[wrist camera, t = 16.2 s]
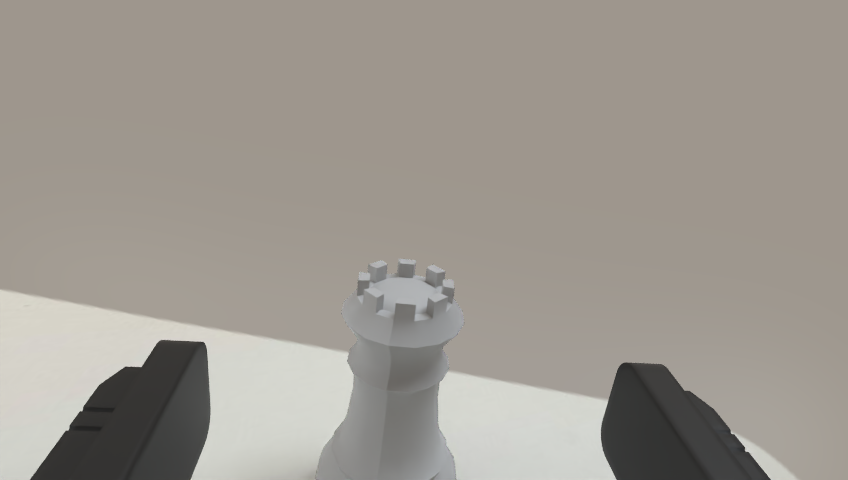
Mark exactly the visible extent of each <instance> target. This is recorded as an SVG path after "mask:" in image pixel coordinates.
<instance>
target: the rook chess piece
mask: <svg viewBox="0 0 848 480" xmlns="http://www.w3.org/2000/svg"><path fill="white" fill-rule="evenodd" d="M415 266H416V260H407V259H399V260H398V270H397V274H387V264H386V263H385V262H383V261H382V260H381V261H378V262H375V263H372V264H369V265H368V273H364V272H360V273H359V278H358V288H357V289H356V290H355V291H354V292H353V293H352V294H351V295H350V296H349V297H348V298H347V299H346V300H345V301H344V304H343V309H342V313H341V314H342V316H343V318H344V319H345V322H346V323H347V325H348V327H349V328H350V329H351V331H352V332H353V333H354V334H355V336H356V337H357V340H358V341H357V342H356V343H355V344H354V345H353V346H352V347H351V348H350V350H349V355H348V360H347V362H348V364H349V366H350V368H351V370H352V372H353V374H354V383H353V390H352V394H351V399H350V403H349V407H348V412H347V415H346V418H345V420H344V421H343V422H342V423H341V424H340V426H339V427H338V428H337V429H336V431H335V433H334V435H333V437H332V438H331V439H330V440H329V442H328V443H327V444H326V445H325V447H324V448H323V450H322V453H321V455H320V459H319V464H318V468H317V473H316V480H456V470H455V462H454V457H453V455H452V453H451V452H450V450H449V448H448V447H447V445H446V439H445V437H444V435H443V434H442V432H441V431H440V429H439V425H438V398H437V397H438V390H439V383H440V381H442V379H443V378H444V376H445V375H446V373H447V371H448V370H449V364H448V356H447V355H446V354H445V352H444V351H443V350H442V349H443V346H444V345H445V344H447V343H448V342H449V341H450V340H451V339H453V338H454V337H455V336H456V335H457V334H458V332H459V331H460V329H461V328H462V326H463V325H464V319H463V312H462V310H461V308H460V307H459V305H458V304H457V302H456V301H455V299H454V298H453V296H454V289H455V288H454V280H444V279H445V271H444V270H442V269H440V268H438V267H436V266H434V265H431V266H429V267H428V268H427V271H426V278H424V277H421V276H416V275H415Z"/></svg>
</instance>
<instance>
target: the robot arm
mask: <svg viewBox="0 0 848 480" xmlns="http://www.w3.org/2000/svg"><path fill="white" fill-rule="evenodd" d="M209 423H210V392H209V376H208V359H207V349H206V345H205V343H204V342H192V341H171V340H161V341H159V342H158V343H157V344H156V346H155V347H154V349H153V351H152V352H151V354H150V355H149V357H148V358H147V360H146V361H145V363H144V364H143V366H142V367H124V368H123V369H121V370H120V371H119V372H117V373H116V374H114V375H113V376H111V377H110V378H109V379H107V380H106V381H104V382H103V383H101V384H100V385H99V386H98V388H97V389H96V390H95V392H94V393H93V394H92V396H91V397H90V398H89V400H88V401H87V403H86V404H85V405H84V407H83V411H82V412H81V411H80V412H79V414H78V415H77V416H76V418H75V419H74V420H73V422H72V423H71V424H70V428H69V431H65V433H64V434H63V435H62V437H61V438H60V440H59V441H58V442H57V444H56V445H55V446H54V448H53V449H52V450H51V452H50V453H49V455H48V456H47V457H46V459H45V460H44V461H43V463H42V464H41V466H40V467H39V468H38V470H37V471H36V472H35V474H34V475H33V476H32V478H31V479H30V480H190V479H191V477H192V474H193V472H194V469H195V467H196V464H197V462H198V459H199V457H200V454H201V452H202V449H203V447H204V444H205V441H206V438H207V434H208V429H209ZM601 441H602V447H603V451H604V454H605V457H606V459H607V461H608V463H609V465H610V467H611V469H612V471H613V473H614V475H615V477H616V479H617V480H771V479H770V478H769V477H768V476H767V474H766V473H765V472H764V471H763V470H762V468H761V467H760V466H759V465H758V463H757V462H756V461H755V460H754V458H753V457H752V456H751V455H750V453H749V452H745V447H744V446H743V445H742V443H741V442H740V441H739V440H738V439H737V437H736V436H735V435H734V434H731V430H730V429H729V427H728V426H727V425H726V424H725V422H724V421H723V420H722V419H721V418H720V416H719V415H718V414H717V413H716V411H715V410H714V409H713V408H711V407H710V406H709V405H707V404H706V403H705V402H703V401H702V400H701V399H699V398H698V397H697V396H696V395H694V394H693V393H691V392H690V391H684V390H683V388H682V387H681V386H680V384H679V383H678V382H677V381H676V379H675V378H674V377H673V375H672V374H671V373H670V372H669V370H668V369H667V368H666V367H665V366H664V365H662V364H644V363H623V364H621V365H620V367H619V368H618V370H617V373H616V377H615V380H614V384H613V387H612V391H611V394H610V397H609V401H608V404H607V408H606V411H605V414H604V418H603V421H602V427H601Z"/></svg>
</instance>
